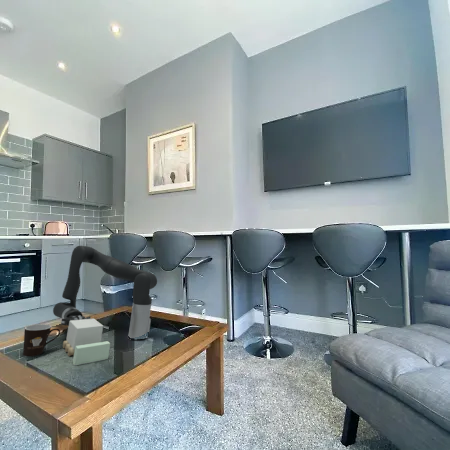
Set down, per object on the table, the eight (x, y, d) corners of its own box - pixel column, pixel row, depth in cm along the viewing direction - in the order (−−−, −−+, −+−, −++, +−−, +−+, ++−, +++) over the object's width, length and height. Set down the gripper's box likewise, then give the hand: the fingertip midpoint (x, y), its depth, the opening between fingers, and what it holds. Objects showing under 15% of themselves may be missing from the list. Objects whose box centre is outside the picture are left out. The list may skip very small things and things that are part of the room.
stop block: (105, 356, 102) (107, 341, 103) (107, 358, 100) (110, 343, 100) (72, 362, 94) (75, 346, 94) (74, 365, 91) (77, 348, 92)
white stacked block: (90, 336, 114) (93, 318, 116) (100, 345, 105) (103, 325, 106) (66, 339, 108) (69, 320, 109) (73, 349, 98) (77, 328, 99)
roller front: (98, 347, 109) (100, 341, 108) (100, 351, 106) (101, 345, 106) (67, 352, 100) (68, 346, 100) (68, 357, 98) (70, 350, 98)
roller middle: (95, 344, 112) (96, 338, 112) (96, 348, 110) (98, 342, 109) (64, 349, 104) (66, 342, 103) (65, 353, 101) (67, 347, 101)
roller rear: (92, 341, 115) (93, 335, 115) (93, 345, 113) (95, 339, 113) (62, 345, 107) (64, 339, 107) (63, 350, 105) (65, 343, 104)
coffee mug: (14, 357, 93) (20, 330, 94) (26, 349, 101) (31, 323, 103) (49, 357, 96) (54, 330, 97) (58, 349, 104) (62, 324, 106)
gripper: (58, 309, 120) (65, 317, 108) (87, 307, 129) (98, 315, 117) (55, 325, 119) (62, 335, 107) (85, 322, 128) (95, 331, 116)
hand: (81, 325), depth 112 cm, fingers closed
